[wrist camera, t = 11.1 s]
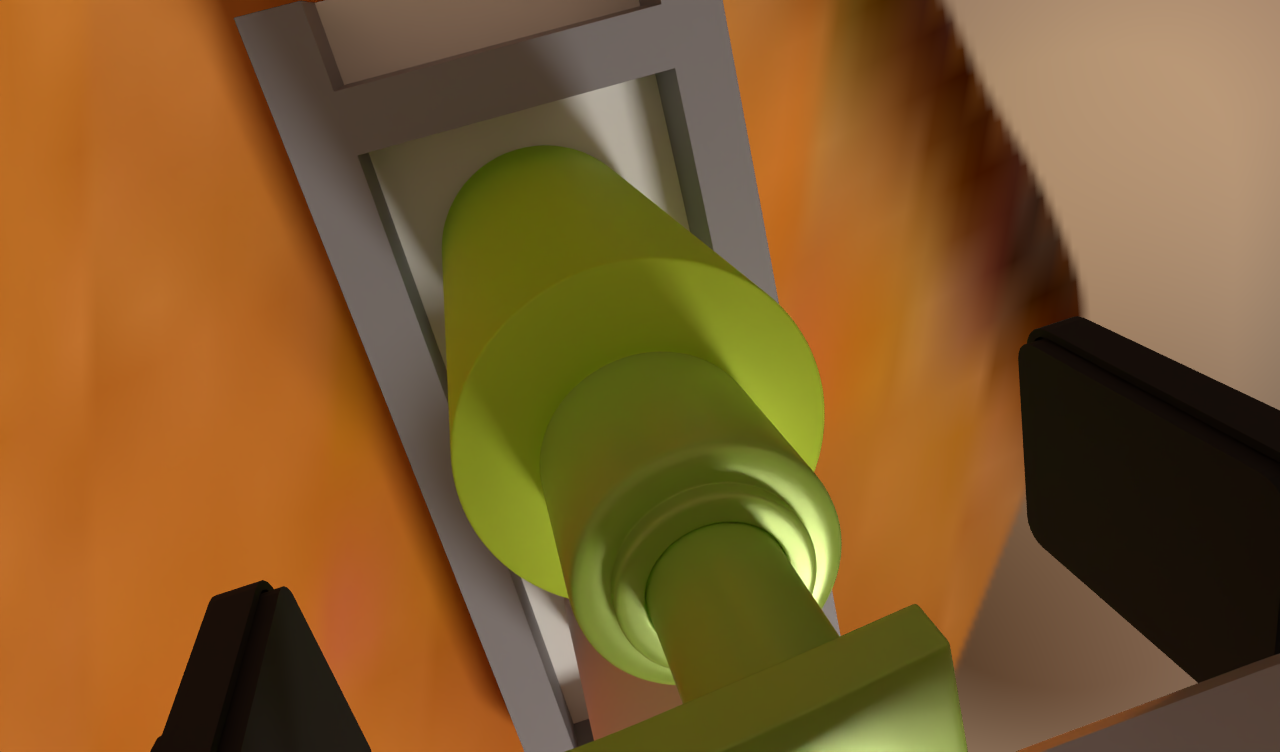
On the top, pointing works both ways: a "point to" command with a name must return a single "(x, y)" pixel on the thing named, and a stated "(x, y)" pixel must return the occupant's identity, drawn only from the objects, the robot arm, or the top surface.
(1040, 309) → the top surface
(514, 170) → the soap dispenser
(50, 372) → the top surface
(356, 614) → the top surface
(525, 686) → the rail
